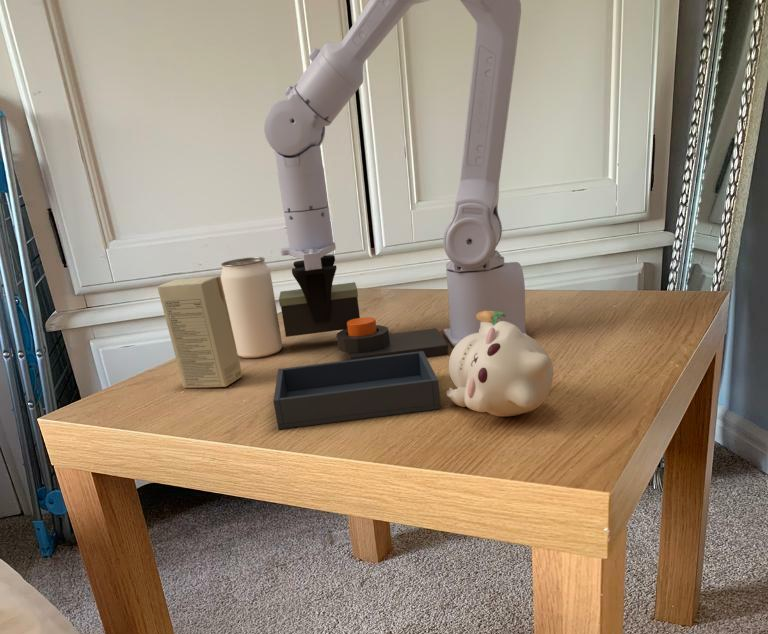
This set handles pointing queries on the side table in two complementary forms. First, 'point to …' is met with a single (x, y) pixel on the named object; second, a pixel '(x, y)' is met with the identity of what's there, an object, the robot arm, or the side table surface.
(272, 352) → the can
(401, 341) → the control block
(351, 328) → the button
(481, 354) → the cat figurine
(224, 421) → the side table surface
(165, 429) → the side table surface
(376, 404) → the tray
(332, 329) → the green-topped black block
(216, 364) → the cosmetic box
